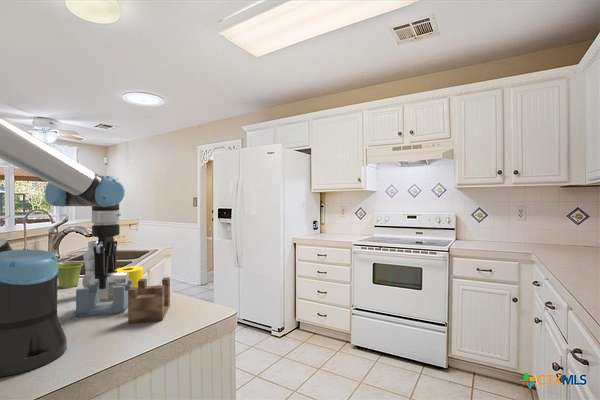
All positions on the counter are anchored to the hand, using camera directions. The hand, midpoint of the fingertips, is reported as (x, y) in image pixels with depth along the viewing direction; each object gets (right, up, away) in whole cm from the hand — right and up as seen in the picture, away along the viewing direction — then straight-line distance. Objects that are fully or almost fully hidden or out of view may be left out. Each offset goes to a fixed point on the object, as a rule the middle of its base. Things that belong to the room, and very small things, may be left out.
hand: (106, 296), depth 97 cm
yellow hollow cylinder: (-2, -5, +16) cm, 17 cm away
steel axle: (0, +3, 0) cm, 3 cm away
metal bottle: (-14, -5, +15) cm, 21 cm away
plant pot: (-33, -5, +27) cm, 42 cm away
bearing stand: (+16, -4, -4) cm, 18 cm away
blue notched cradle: (0, -4, 0) cm, 4 cm away
